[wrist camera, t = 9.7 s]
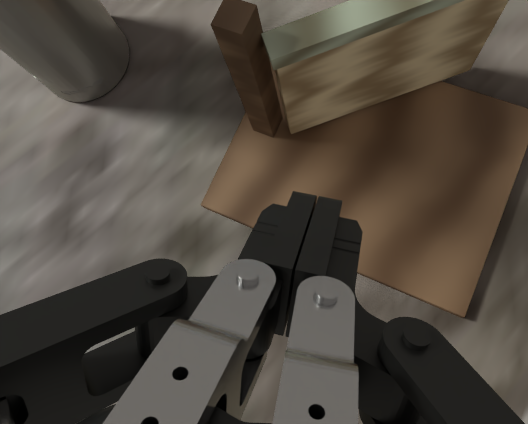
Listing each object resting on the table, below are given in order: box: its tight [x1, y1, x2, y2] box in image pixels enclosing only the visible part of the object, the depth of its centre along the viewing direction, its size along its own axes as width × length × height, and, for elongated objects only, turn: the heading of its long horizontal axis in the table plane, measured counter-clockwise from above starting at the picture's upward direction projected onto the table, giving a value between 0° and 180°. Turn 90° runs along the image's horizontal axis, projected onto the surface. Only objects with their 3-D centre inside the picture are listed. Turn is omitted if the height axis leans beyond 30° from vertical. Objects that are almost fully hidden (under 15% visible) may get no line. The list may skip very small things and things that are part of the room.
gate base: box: [201, 0, 528, 318], centre depth 32 cm, size 23×18×16 cm
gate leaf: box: [261, 0, 509, 134], centre depth 33 cm, size 17×2×12 cm, turn 108°
